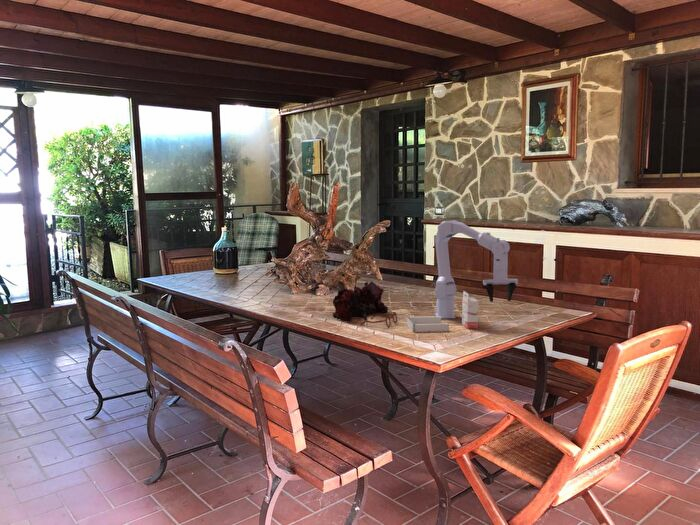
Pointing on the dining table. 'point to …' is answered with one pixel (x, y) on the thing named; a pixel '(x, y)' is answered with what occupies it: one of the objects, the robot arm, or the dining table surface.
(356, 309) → the flower arrangement
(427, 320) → the sorting bay
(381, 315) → the glasses
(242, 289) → the dining table surface
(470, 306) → the ink cartridge box
